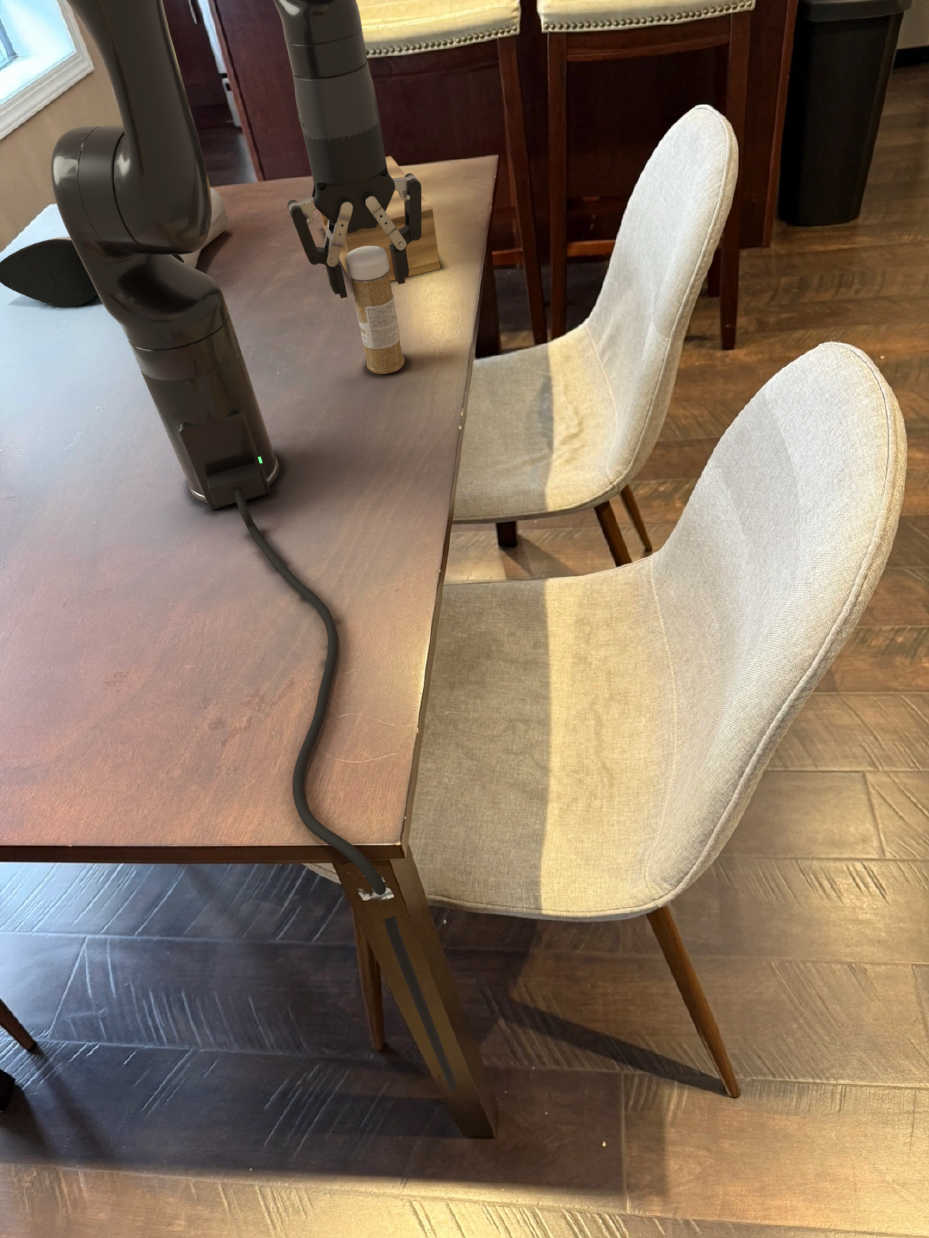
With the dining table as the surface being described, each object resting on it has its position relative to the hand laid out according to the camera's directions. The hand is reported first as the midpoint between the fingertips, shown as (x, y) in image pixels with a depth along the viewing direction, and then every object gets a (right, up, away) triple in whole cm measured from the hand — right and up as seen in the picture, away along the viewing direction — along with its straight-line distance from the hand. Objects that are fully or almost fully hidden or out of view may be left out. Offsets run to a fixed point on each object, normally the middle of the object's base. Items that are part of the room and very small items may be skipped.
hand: (371, 287), depth 95 cm
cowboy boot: (-40, +16, +34) cm, 55 cm away
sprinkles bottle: (+1, -7, +7) cm, 10 cm away
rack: (-2, +17, +29) cm, 34 cm away
